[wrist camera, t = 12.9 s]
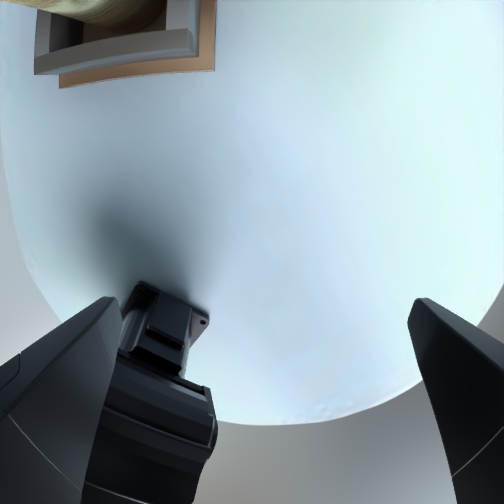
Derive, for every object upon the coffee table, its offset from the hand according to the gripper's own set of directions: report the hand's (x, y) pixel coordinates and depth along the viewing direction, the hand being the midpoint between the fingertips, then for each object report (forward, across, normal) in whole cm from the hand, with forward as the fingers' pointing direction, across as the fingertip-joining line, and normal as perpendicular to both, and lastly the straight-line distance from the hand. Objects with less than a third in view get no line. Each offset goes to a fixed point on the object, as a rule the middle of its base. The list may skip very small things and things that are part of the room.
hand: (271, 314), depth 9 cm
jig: (+13, +8, -12) cm, 19 cm away
